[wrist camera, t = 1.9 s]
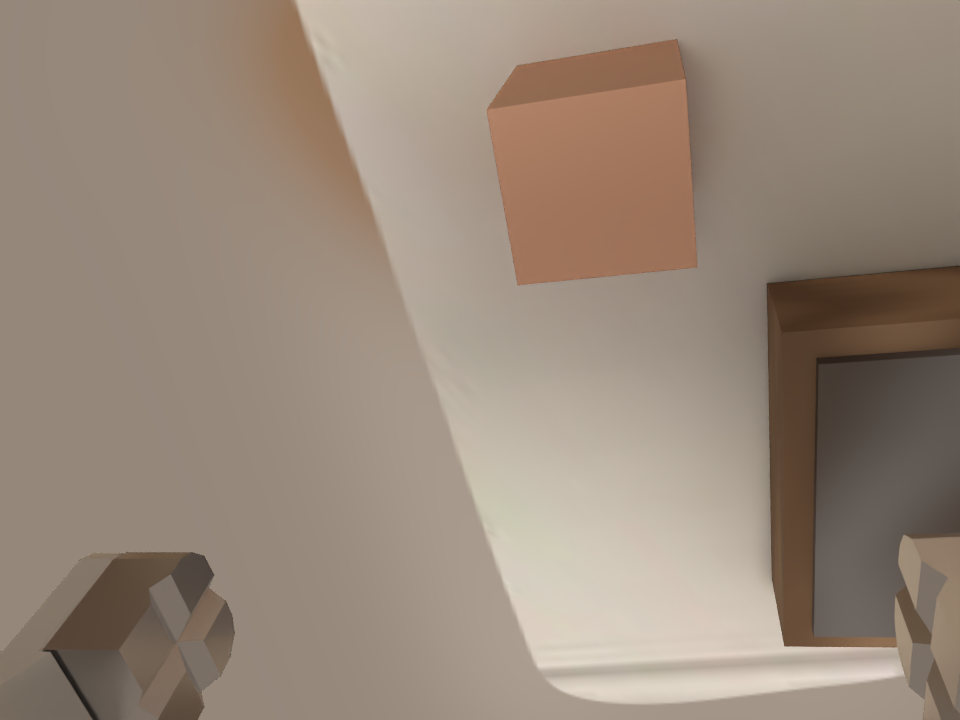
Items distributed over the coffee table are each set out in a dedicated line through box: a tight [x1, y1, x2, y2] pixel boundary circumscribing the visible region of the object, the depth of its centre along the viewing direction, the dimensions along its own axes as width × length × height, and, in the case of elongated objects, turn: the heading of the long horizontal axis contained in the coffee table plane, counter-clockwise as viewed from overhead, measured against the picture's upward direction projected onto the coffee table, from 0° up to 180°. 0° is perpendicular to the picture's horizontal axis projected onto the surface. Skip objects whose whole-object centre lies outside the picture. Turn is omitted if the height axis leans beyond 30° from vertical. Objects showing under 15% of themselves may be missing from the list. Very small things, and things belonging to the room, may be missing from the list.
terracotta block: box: [487, 39, 697, 285], centre depth 24 cm, size 5×5×6 cm
